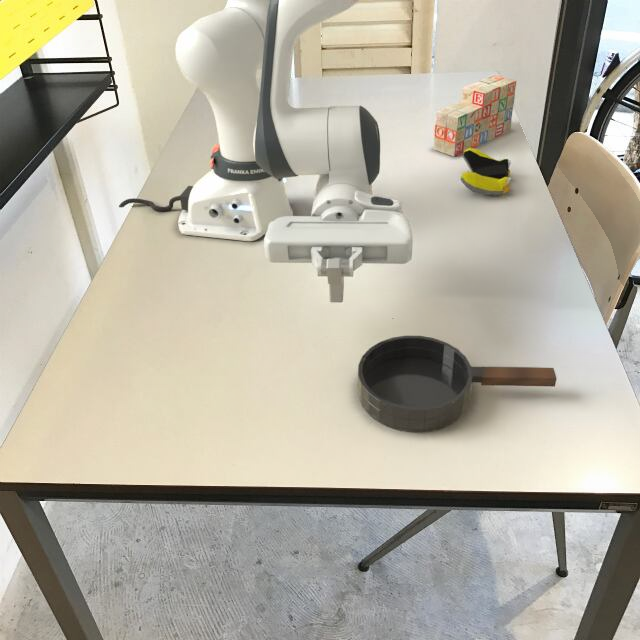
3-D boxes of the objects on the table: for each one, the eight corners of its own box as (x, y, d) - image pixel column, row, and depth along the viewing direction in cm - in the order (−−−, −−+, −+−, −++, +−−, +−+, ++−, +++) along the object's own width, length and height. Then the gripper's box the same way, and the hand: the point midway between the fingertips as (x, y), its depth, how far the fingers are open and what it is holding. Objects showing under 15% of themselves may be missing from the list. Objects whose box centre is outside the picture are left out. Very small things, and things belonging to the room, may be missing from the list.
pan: (356, 431, 90) (356, 408, 88) (359, 356, 103) (359, 334, 100) (475, 433, 89) (478, 411, 87) (464, 357, 101) (466, 336, 99)
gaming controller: (458, 200, 141) (509, 203, 139) (460, 175, 137) (513, 177, 135) (461, 169, 152) (508, 171, 150) (463, 145, 149) (512, 147, 147)
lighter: (331, 285, 97) (329, 234, 92) (344, 285, 97) (343, 235, 92) (328, 315, 91) (326, 263, 86) (341, 315, 91) (340, 264, 86)
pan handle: (470, 385, 93) (471, 376, 92) (469, 374, 95) (470, 365, 94) (555, 386, 92) (557, 378, 91) (551, 375, 94) (553, 367, 93)
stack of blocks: (454, 157, 157) (458, 103, 150) (433, 150, 161) (436, 97, 154) (510, 130, 168) (517, 79, 161) (489, 124, 172) (494, 74, 165)
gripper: (268, 200, 100) (253, 250, 89) (411, 200, 98) (414, 252, 87) (271, 238, 104) (258, 291, 93) (409, 239, 102) (412, 293, 91)
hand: (335, 272), depth 90 cm, fingers closed on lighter, 2 cm apart
